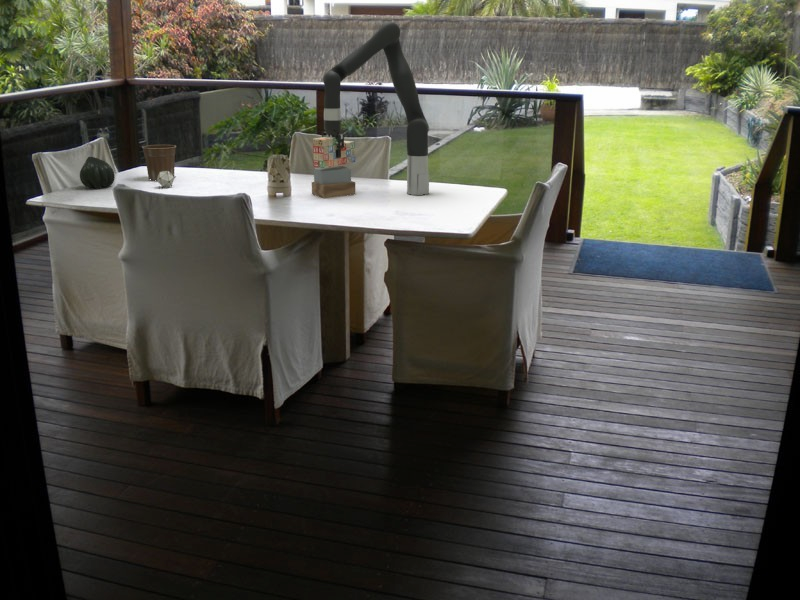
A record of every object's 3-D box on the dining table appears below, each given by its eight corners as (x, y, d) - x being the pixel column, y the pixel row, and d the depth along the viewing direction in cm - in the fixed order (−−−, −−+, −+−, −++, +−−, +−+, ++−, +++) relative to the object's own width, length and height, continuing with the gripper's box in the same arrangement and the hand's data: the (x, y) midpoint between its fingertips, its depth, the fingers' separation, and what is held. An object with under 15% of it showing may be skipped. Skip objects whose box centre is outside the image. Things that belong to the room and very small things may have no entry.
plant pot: (152, 176, 426) (150, 143, 421) (183, 177, 424) (181, 144, 419) (139, 181, 411) (136, 147, 406) (170, 182, 408) (168, 148, 404)
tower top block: (351, 182, 377) (350, 168, 375) (321, 184, 371) (321, 170, 369) (343, 179, 385) (342, 166, 383) (314, 181, 379) (313, 168, 377)
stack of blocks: (345, 161, 386) (344, 133, 382) (355, 162, 382) (355, 134, 379) (313, 166, 369) (312, 138, 366) (324, 168, 366) (323, 139, 362)
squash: (123, 176, 392) (108, 149, 395) (94, 181, 381) (78, 154, 384) (113, 193, 402) (98, 167, 404) (84, 199, 391) (69, 172, 393)
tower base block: (355, 195, 380) (355, 182, 378) (324, 199, 371) (324, 185, 369) (342, 191, 388) (342, 178, 386) (311, 195, 379) (311, 182, 377)
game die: (162, 195, 395) (147, 178, 392) (172, 186, 402) (158, 169, 398) (173, 188, 390) (158, 170, 387) (183, 178, 396) (168, 161, 393)
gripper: (349, 119, 366) (349, 158, 371) (330, 117, 377) (331, 154, 382) (334, 120, 362) (335, 159, 367) (316, 118, 372) (317, 156, 377)
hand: (333, 156), depth 374 cm, fingers closed on stack of blocks, 7 cm apart
